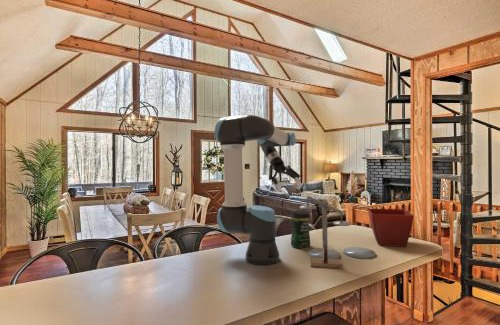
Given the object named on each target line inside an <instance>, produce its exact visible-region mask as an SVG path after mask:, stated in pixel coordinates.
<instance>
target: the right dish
mask: <svg viewBox="0 0 500 325" xmlns="http://www.w3.org/2000/svg"><path fill="white" fill-rule="evenodd" d="M342 254H343V255H345V256H347V257H350V258H354V259H372V258H374V257H376V252H375V251H374V250H373V249H371V248H366V247H362V246H361V247H359V246H349V247H348V246H347V247H344V248H343V249H342Z"/></svg>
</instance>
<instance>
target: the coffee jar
mask: <svg viewBox="0 0 500 325" xmlns="http://www.w3.org/2000/svg"><path fill="white" fill-rule="evenodd" d="M290 219H291V220H290V221H291V237H290V245H291V247H293V248H297V249H304V248H309V247H311V238H310V220H311V213H310V211H308V210H307V209H300V210H292V211H291V214H290Z"/></svg>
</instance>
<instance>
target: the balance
mask: <svg viewBox="0 0 500 325" xmlns="http://www.w3.org/2000/svg"><path fill="white" fill-rule="evenodd" d="M309 200H310V201H312V202H315V203H317V204H318V205H321V223H322V225H321V228H322V229H321V230H322V233H321V234H322V248H323V258H313V257H310V267H312V268H324V269H325V268H328V269H342V263H341V258H338V259H331V258H328V249H329V248H328V246H329V244H328V209H329V210H332V211H334V212H335V213H338V214H340V220H335V221H332V224H333V225H334V226H337V227H349V226H351V225H352V224H351V222H350V221H346V220H343V211H342V210H340V209H337V208H336V207H333V206H332V205H329V204H328V202H327V201H321V200H318V199H317V198H314V197H312V196H310V195H308V196H306V205H305V204H304V205H299V209H300V210H317V206H316V205H311V204H309Z"/></svg>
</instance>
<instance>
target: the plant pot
mask: <svg viewBox="0 0 500 325" xmlns="http://www.w3.org/2000/svg"><path fill="white" fill-rule="evenodd" d="M367 211H368V212H367V213H368V217H369V222H370V226H371V230H372V234H373V235H374V239H375V241H376V243H377V245H378V246H383V247H384V246H385V247H387V246H388V247H407V244H408V241H409V238H410V235H411V231H412V228H413V221H414V214H413V213H411V212H410V211H407V210H406V209H403V208H401V209H400V208H399V209H398V208H368V209H367Z"/></svg>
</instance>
